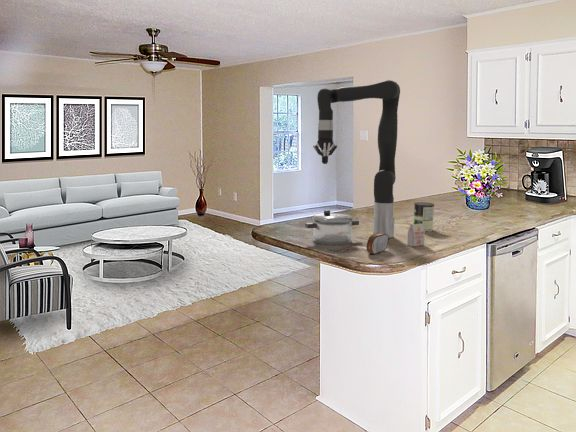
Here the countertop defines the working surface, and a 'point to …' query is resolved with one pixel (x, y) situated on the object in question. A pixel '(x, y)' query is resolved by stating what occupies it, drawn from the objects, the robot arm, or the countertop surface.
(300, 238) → the countertop surface
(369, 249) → the tin
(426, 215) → the coffee can
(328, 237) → the cooker pot
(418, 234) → the milk carton
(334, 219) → the cooker lid
